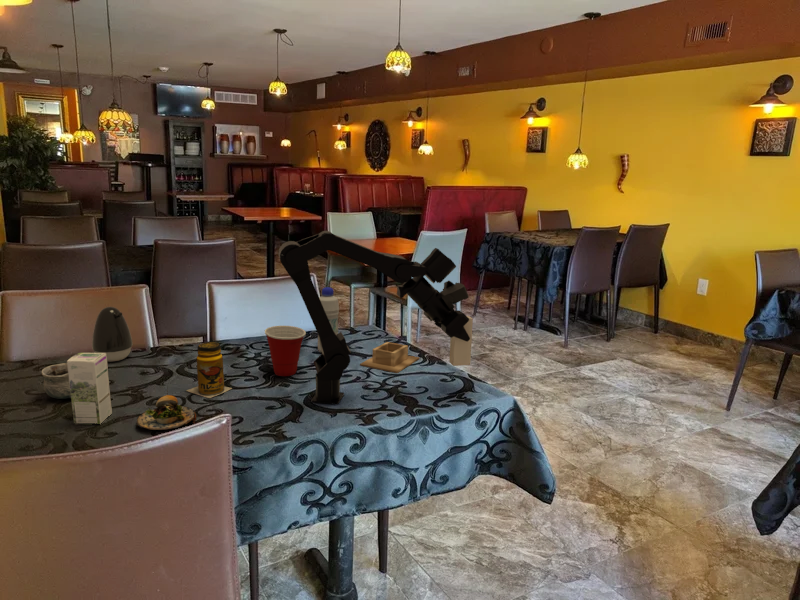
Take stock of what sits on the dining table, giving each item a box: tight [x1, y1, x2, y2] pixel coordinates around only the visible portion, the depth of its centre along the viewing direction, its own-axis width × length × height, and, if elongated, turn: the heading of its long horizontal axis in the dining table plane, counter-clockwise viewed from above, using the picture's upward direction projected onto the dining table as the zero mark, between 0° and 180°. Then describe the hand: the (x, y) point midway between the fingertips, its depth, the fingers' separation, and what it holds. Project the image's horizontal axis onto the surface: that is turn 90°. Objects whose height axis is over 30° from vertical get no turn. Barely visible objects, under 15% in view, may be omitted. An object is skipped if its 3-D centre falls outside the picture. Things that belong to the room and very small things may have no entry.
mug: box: [40, 362, 71, 400], centre depth 135 cm, size 10×12×10 cm
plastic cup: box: [264, 325, 307, 377], centre depth 153 cm, size 11×11×12 cm
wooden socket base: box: [359, 341, 420, 374], centre depth 165 cm, size 14×12×4 cm
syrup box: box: [66, 352, 113, 425], centre depth 122 cm, size 6×6×14 cm
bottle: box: [317, 286, 340, 354], centre depth 171 cm, size 7×7×20 cm
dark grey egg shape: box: [91, 306, 134, 363], centre depth 161 cm, size 10×10×15 cm
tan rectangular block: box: [449, 315, 474, 367], centre depth 143 cm, size 4×3×12 cm, turn 104°
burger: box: [136, 386, 197, 431], centre depth 122 cm, size 12×12×8 cm
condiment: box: [185, 341, 233, 399], centre depth 140 cm, size 7×8×12 cm
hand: (466, 338), depth 144 cm, fingers closed on tan rectangular block, 3 cm apart
